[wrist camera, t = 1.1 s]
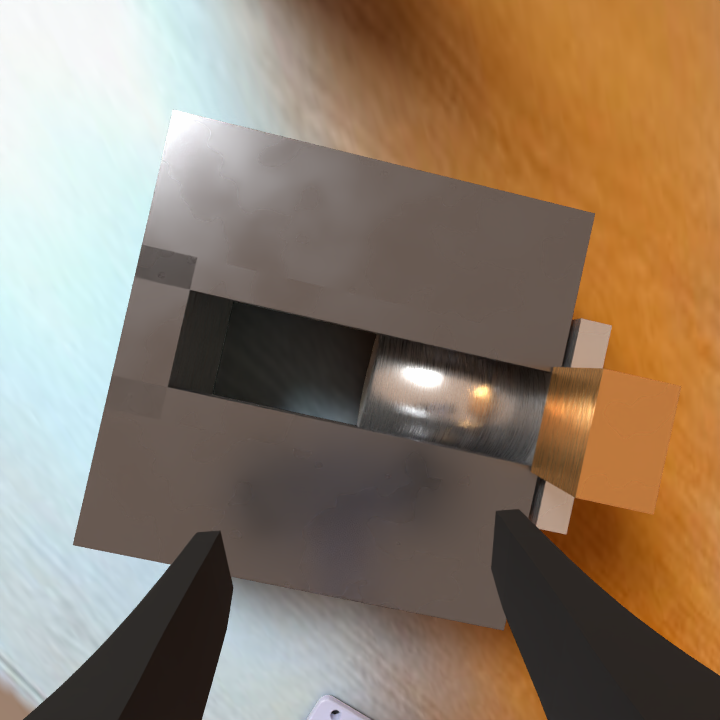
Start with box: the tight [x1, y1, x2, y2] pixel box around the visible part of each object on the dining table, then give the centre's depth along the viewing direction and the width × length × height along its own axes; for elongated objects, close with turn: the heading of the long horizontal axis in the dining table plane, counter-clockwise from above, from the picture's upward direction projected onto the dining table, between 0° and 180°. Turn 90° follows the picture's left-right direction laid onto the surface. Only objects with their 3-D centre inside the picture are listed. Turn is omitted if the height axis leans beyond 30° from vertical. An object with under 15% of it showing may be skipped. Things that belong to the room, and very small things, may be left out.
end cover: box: [357, 319, 681, 534], centre depth 18 cm, size 9×8×9 cm
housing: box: [73, 110, 595, 630], centre depth 20 cm, size 16×16×6 cm
